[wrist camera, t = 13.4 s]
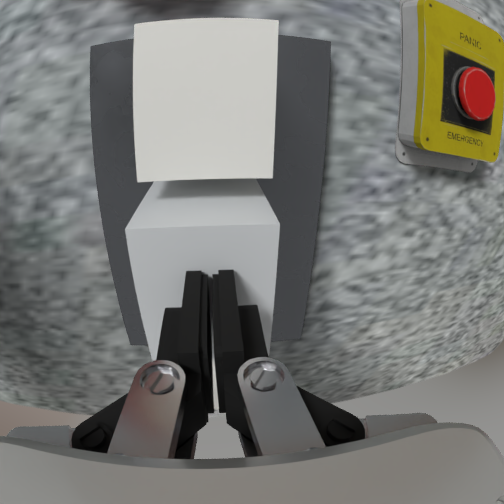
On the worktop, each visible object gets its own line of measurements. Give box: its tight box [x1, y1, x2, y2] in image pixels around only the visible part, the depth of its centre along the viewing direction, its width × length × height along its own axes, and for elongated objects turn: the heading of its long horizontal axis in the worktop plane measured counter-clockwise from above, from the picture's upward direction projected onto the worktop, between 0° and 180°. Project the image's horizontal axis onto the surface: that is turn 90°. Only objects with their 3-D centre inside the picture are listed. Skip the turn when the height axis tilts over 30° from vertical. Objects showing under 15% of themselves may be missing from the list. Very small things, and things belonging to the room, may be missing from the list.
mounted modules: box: [133, 18, 279, 409], centre depth 16 cm, size 20×5×6 cm, turn 179°
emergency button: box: [395, 0, 504, 172], centre depth 16 cm, size 9×4×15 cm
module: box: [125, 178, 280, 360], centre depth 15 cm, size 6×5×8 cm
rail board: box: [90, 35, 331, 345], centre depth 19 cm, size 22×14×2 cm, turn 179°
